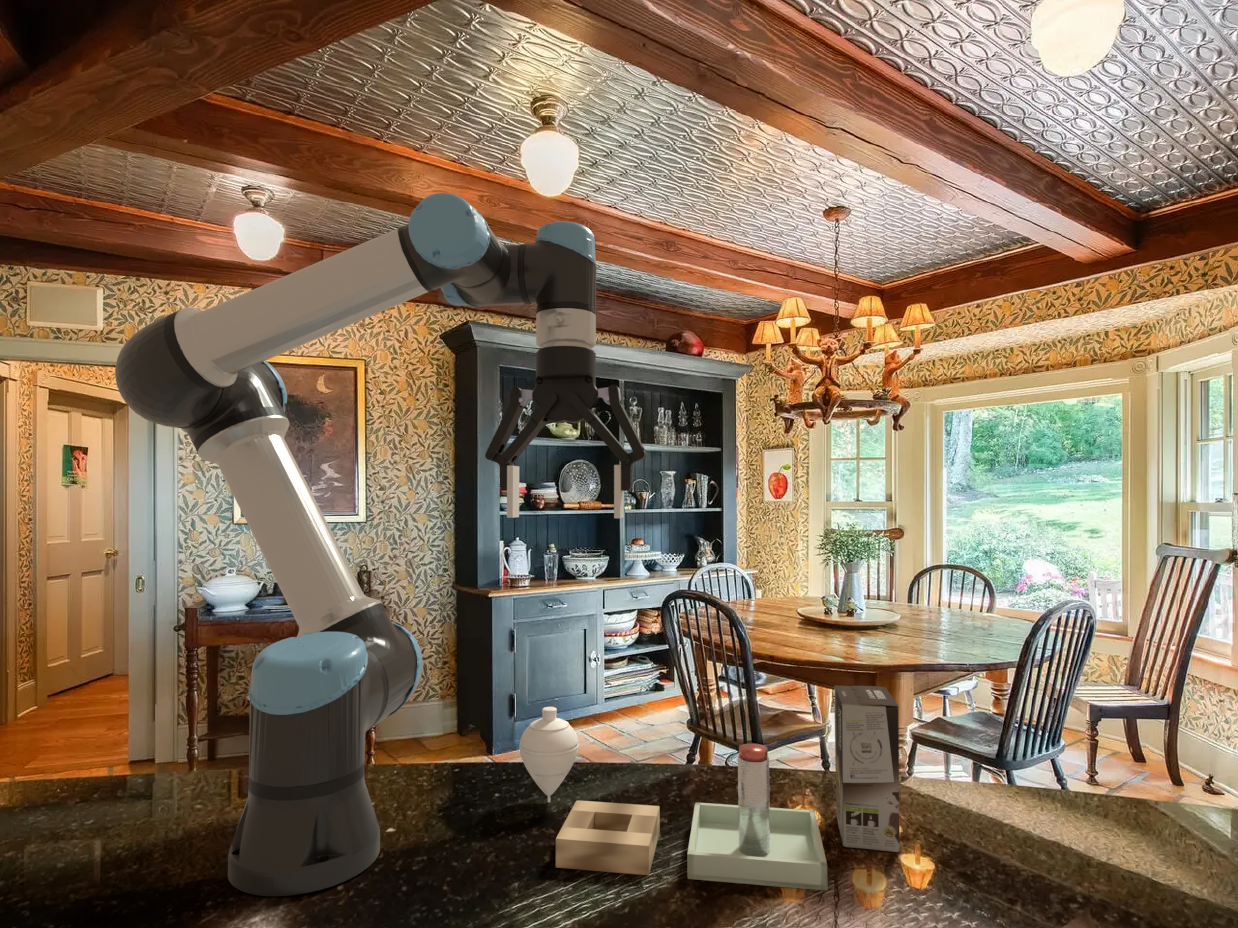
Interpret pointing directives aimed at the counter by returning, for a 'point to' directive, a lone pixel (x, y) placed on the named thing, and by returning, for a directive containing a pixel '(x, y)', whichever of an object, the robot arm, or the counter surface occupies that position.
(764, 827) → the pin
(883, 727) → the coffee box
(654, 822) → the block
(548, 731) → the spinning top
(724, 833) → the tray
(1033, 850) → the counter surface
